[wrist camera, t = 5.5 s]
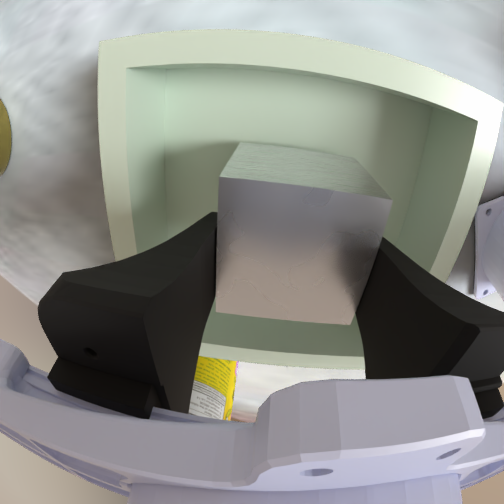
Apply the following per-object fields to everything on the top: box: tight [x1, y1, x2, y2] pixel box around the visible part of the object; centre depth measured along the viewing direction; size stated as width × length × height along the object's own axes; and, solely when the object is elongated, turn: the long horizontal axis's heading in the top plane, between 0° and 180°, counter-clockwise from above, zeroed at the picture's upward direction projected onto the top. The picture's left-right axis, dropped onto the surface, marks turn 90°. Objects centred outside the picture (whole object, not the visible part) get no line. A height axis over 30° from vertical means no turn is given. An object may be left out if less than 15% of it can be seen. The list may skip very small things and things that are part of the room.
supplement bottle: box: [188, 356, 238, 421], centre depth 17 cm, size 7×7×13 cm
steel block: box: [216, 142, 393, 325], centre depth 11 cm, size 5×5×5 cm
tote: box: [98, 29, 503, 370], centre depth 13 cm, size 15×15×5 cm
